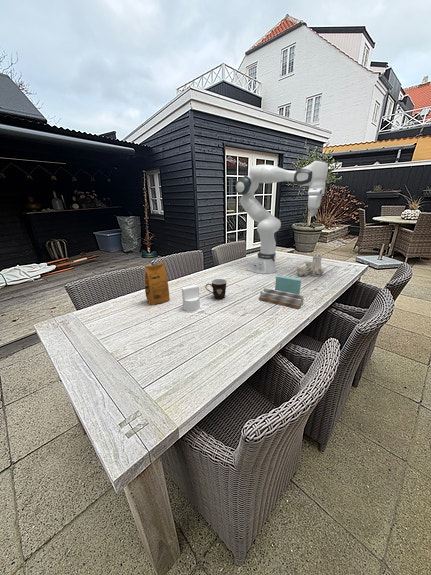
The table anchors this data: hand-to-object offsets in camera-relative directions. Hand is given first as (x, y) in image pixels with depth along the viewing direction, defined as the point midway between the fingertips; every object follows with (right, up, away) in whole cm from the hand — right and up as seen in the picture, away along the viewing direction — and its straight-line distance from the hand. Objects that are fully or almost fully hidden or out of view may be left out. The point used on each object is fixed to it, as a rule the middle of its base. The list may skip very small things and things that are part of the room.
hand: (313, 215), depth 140 cm
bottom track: (-24, -52, -13) cm, 58 cm away
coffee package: (-93, -52, -8) cm, 107 cm away
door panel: (-17, -48, -3) cm, 51 cm away
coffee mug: (-59, -50, -6) cm, 78 cm away
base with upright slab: (-73, -55, -17) cm, 93 cm away
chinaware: (+10, -34, +28) cm, 46 cm away
